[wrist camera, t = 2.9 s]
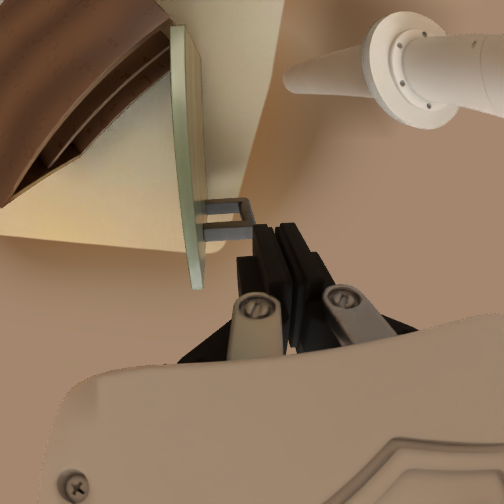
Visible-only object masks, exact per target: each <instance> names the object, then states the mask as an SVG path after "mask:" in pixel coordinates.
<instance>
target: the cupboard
mask: <svg viewBox="0 0 504 504" xmlns="http://www.w3.org/2000/svg"><path fill="white" fill-rule="evenodd" d="M171 26H175V24H174V22H173V21H172V19H171V18H170V17H169V15H168V14H167V13H166V12H165V11H164V10H163V9H162V8H161V7H160V6H159V5H158V4H157V3H156V2H155V1H154V0H4V1H3V3H2V4H1V5H0V208H3V207H4V206H6V205H7V204H8V203H10V202H11V201H12V200H14V199H15V198H17V197H18V196H19V195H21V194H22V193H24V192H25V191H27V190H28V189H30V188H31V187H33V186H34V185H36V184H37V183H39V182H40V181H42V180H43V179H45V178H46V177H48V176H49V175H51V174H53V173H54V172H56V171H58V170H59V169H61V168H63V167H64V166H66V165H68V164H69V163H71V162H73V161H75V160H76V159H78V158H80V157H81V156H82V154H83V153H84V152H85V151H86V150H87V149H88V148H89V147H90V146H91V144H92V143H93V142H94V141H95V140H96V139H97V138H98V137H99V136H100V135H101V134H102V133H103V132H104V131H105V130H106V129H107V128H108V127H109V126H110V125H111V124H112V123H113V122H114V121H115V120H116V119H117V118H118V117H119V116H120V115H121V114H122V113H123V112H124V111H125V110H126V109H127V108H128V107H129V106H130V105H131V104H132V103H134V102H135V101H136V100H137V99H138V98H139V97H140V96H141V95H142V94H144V93H145V92H146V91H147V90H148V89H149V88H151V87H152V86H153V85H154V84H155V83H157V82H158V81H159V80H160V79H161V78H163V77H164V76H165V75H166V74H168V73H169V72H170V27H171Z"/></svg>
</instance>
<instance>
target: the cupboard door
mask: <svg viewBox="0 0 504 504" xmlns="http://www.w3.org/2000/svg"><path fill="white" fill-rule="evenodd" d="M170 74H171V99H172V118H173V133H174V147H175V159H176V170H177V180H178V190H179V200H180V208H181V217H182V225H183V233H184V241H185V248H186V255H187V262H188V269H189V275H190V281H191V288H192V289H193V290H195V289H203V288H204V267H205V249H206V242H208V241H224V240H240V239H253V234H252V228H253V225H256V222H255V219H254V215H253V212H252V209H251V205H250V202H249V200H248V199H247V198H226V199H210V200H208V199H207V185H206V170H205V153H204V133H203V111H202V81H201V58H200V55H199V53H198V51H197V49H196V47H195V45H194V43H193V41H192V38H191V36H190V34H189V32H188V30H187V28H186V26H185V25H178V26H171V27H170ZM228 213H240V217H241V221H229V222H213V223H207V217H208V215H212V214H228Z"/></svg>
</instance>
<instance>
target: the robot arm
mask: <svg viewBox="0 0 504 504" xmlns="http://www.w3.org/2000/svg"><path fill="white" fill-rule="evenodd" d="M389 69H390V73H391V77H392V80H393V82H394V84H395V86H396V88H397V89H398V91H399V93H400V94H401V95H402V96H403V98H404V99H405V100H406V101H407V102H409V103H410V104H411V105H413V106H415V107H416V108H419V109H422V110H426V111H437V110H440V109H442V108H444V107H445V106H447V104H450V105H455V106H459V107H464V108H468V109H473V110H476V111H481V112H484V113H488V114H492V115H495V116H499V117H502V118H504V34H459V35H444V36H435V35H434V34H432V33H431V32H428V31H426V30H423V29H408V30H405V31H403V32H401V33H399V34H398V35H397V36H396V37H395V39H394V40H393V41H392V44H391V46H390V50H389ZM252 234H253V256H246V257H237V278H238V291H239V298H238V299H237V300H236V301H235V303H234V306H233V313H232V319H231V320H230V321H229V322H227V323H226V324H225V325H224V326H222V327H221V328H220V329H219V330H217V331H216V332H215V333H213V334H212V335H211V336H210V337H208V338H207V339H206V340H205V341H203V342H202V343H201V344H199V345H198V346H197V347H195V348H194V349H193V350H192V351H190V352H189V353H188V354H186V355H185V356H184V357H182V359H180V361H179V362H178V363H177V364H167V365H166V364H163V365H146V366H136V367H128V368H122V369H116V370H111V371H108V372H105V373H101V374H98V375H94V376H92V377H90V378H87V379H86V380H83V381H81V382H79V383H78V384H77V385H75V386H74V387H73V388H72V389H71V390H70V391H69V392H68V393H67V394H66V396H65V397H64V399H63V401H62V403H61V404H60V407H59V409H58V411H57V414H56V416H55V418H54V421H53V424H52V427H51V430H50V434H49V438H48V442H47V445H46V450H45V453H44V458H43V463H42V469H41V475H40V482H39V491H38V499H37V504H504V315H503V314H484V315H477V316H473V317H469V318H466V319H461V320H457V321H453V322H450V323H447V324H443V325H439V326H435V327H431V328H428V329H424V330H420V331H419V330H417V329H415V328H414V327H411V326H409V325H406V324H404V323H401V322H399V321H396V320H394V319H391V318H389V317H386V316H384V315H381V314H380V313H379V312H378V311H377V310H376V308H375V307H374V306H373V305H372V304H371V302H370V301H369V300H368V299H367V298H366V297H365V296H364V294H363V293H362V292H361V291H359V290H358V289H356V288H355V287H353V286H349V285H344V284H338V285H336V284H335V282H334V280H333V279H332V277H331V275H330V274H329V272H328V270H327V268H326V266H325V265H324V263H323V261H322V260H321V258H320V256H319V254H318V253H317V252H310V250H309V248H308V246H307V244H306V242H305V241H304V239H303V237H302V235H301V233H300V232H299V230H298V228H297V226H296V225H295V223H281V224H280V227H276V228H275V233H274V231H273V229H272V227H268V226H267V224H256V225H253V228H252ZM288 340H289V344H290V347H291V348H292V347H295V348H296V352H297V354H291V355H286V350H287V343H288ZM85 476H86V477H85Z"/></svg>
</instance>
